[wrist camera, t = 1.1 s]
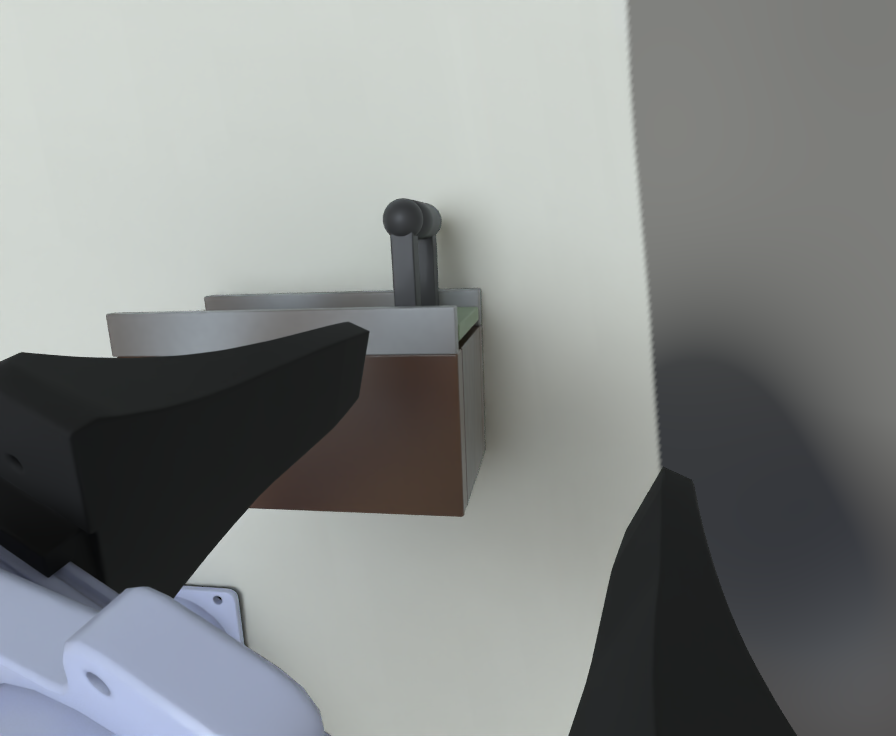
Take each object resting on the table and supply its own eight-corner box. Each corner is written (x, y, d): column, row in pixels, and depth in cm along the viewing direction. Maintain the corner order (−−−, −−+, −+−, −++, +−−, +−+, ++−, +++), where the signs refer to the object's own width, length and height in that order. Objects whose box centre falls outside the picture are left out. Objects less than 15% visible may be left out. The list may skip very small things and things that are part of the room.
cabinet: (230, 445, 31) (136, 506, 24) (212, 295, 29) (104, 314, 22) (485, 450, 28) (462, 520, 21) (481, 287, 27) (455, 306, 20)
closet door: (331, 322, 27) (276, 344, 22) (321, 210, 26) (262, 204, 21) (478, 320, 26) (459, 342, 21) (475, 202, 25) (453, 194, 20)
